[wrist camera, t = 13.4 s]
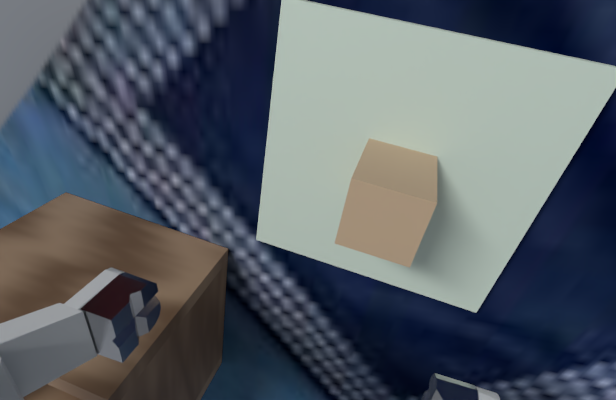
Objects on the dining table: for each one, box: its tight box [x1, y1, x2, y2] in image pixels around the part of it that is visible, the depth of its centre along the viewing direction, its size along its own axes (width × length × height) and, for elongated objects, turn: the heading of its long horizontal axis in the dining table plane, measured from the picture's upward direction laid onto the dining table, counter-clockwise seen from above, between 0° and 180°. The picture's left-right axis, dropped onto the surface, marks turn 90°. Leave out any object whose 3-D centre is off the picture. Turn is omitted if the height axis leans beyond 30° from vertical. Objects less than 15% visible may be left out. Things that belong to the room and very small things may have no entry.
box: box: [0, 193, 228, 400], centre depth 23 cm, size 12×12×10 cm
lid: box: [256, 0, 616, 313], centre depth 16 cm, size 12×12×5 cm
